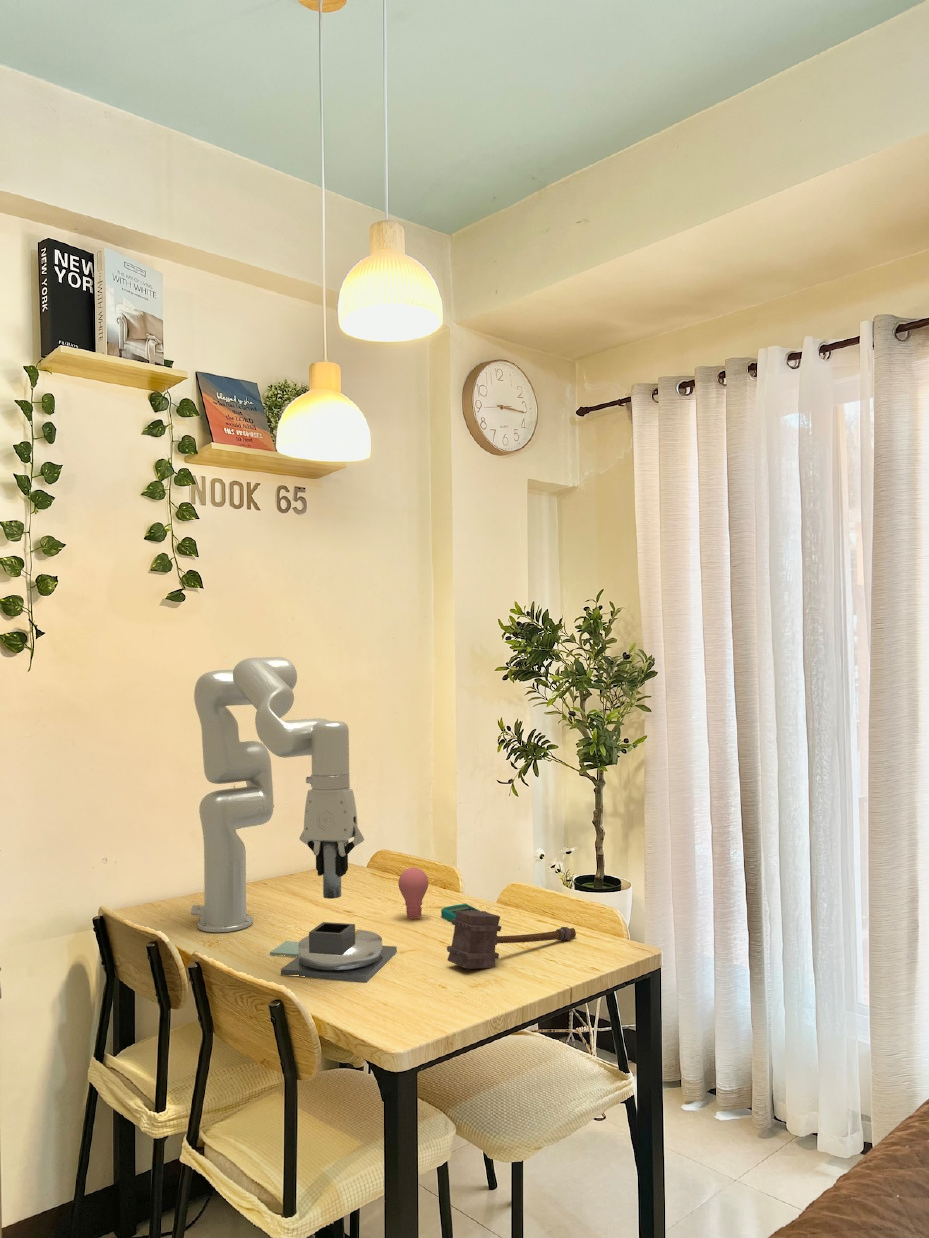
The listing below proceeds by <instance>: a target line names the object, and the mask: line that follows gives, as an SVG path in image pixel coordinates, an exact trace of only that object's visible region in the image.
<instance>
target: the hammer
mask: <svg viewBox="0 0 929 1238" xmlns="http://www.w3.org/2000/svg"><path fill="white" fill-rule="evenodd" d="M500 920H501V916H500V915H497V914H493V913H491V912H488V911H486V910H480V911H456V919H452V922H451V925H453V926H454V928H453V938H452V942H451V945H447V947H446V951H447V952H448V953H449V954H448V956H447V961H448V962H450V963H452V964H455V965H456V966H459V967H462V968H464V969H493V968H495V967H496V960H498V959H499V958H500V957H499V956H500V954H499V953H498V952H496V946H497V945H498V944H517V943H519V944H520V943H533V942H534V943H535V942H546V941H554V940H555V941H556V940H557V941H565V942H569V941H570V940H571V938H575V937H576V936H577V933H576V929H575V928H574V927H571V928H569V927H568V926H562V927H560V928H558V929H556V930H554V931H548V932H547V931H546V932H539V933H529V934H515V935H498V932H502V926H501V925H499V923H500Z"/></svg>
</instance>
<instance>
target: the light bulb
mask: <svg viewBox="0 0 929 1238" xmlns="http://www.w3.org/2000/svg"><path fill="white" fill-rule="evenodd" d="M428 888H429V878H428V876H427V874H426V873H425V871H423V870H422V869H421V868H418V867H409V868H407V869H405V870H404V871H402V873H401V874H400V876H399V877H398V889H399V891H400V894H401V895H402V898H403V899H404V901H405V902H404V905H405V906H406V909H405V911H406V917H407V918H411V919H413V918H415V919H417V918H420V917H422V911H423V910H422V905H423V899H424V897H425V895H426V893H427V891H428Z"/></svg>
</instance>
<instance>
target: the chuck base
mask: <svg viewBox="0 0 929 1238" xmlns="http://www.w3.org/2000/svg"><path fill="white" fill-rule="evenodd" d="M396 952H397V953H398V946H394V945H393V946H392V945H382V956H381V958H380V959H379V960H377V961H376V962H374V963H372V964H369V965H366V966H362V967H358V968H353V969H345V970H322V969H315V968H310V967H307V966H305V965H303V964H302V963H300V961H299V956H298V957H294V959H292V960H291V961H290V962H289V963H287V964H286V965H284V966H283V967H282V968H281V969H280V976H282V975H299V976H305V977H304V978H306V977H312V978H311V979H318V978H320V979H319V980H330V979H334V980H333V981H342V982H343V981H345V982H357V983H367V982H368V981H369V980H371V979H372V977H373V976H374V975H375V974H377V973H378V972H379V970H380V969H382V968H383V967H384V966H386V965H385V963H386V962H387V961H388V960H389V959H390V958H391V957H392V956H393V955H394V956H395V955H396V954H397V953H396ZM395 953H396V954H395ZM394 956H393V957H394ZM393 957H392V958H393ZM392 958H391V959H392ZM391 959H390V960H391ZM390 960H389V961H390ZM389 961H388V962H389ZM388 962H387V963H388ZM387 963H386V964H387Z"/></svg>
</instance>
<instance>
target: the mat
mask: <svg viewBox="0 0 929 1238" xmlns="http://www.w3.org/2000/svg"><path fill="white" fill-rule="evenodd" d="M299 942H300V941H290V940H285V941H283V943H281V944H279V945H278V946H277V947H275V948H274V949H272V950H271V951H270V952H269V956H275V955H283V956H282V957H288V956H297V957H298V956H299ZM284 955H285V956H284Z"/></svg>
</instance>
